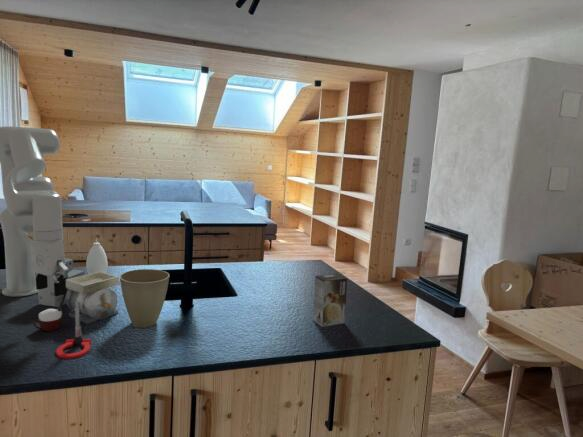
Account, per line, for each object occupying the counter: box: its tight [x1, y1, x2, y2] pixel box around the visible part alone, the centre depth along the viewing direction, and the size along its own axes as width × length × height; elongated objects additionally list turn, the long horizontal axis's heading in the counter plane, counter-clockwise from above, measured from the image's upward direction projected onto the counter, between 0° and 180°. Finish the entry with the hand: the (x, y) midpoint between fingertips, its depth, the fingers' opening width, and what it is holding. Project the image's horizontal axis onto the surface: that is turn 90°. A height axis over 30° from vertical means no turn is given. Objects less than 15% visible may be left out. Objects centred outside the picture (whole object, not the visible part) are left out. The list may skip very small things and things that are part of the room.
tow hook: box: [55, 301, 93, 360], centre depth 119 cm, size 8×13×9 cm
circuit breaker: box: [37, 257, 86, 308], centre depth 153 cm, size 8×14×15 cm, turn 78°
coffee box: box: [312, 273, 348, 328], centre depth 148 cm, size 9×6×16 cm
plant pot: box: [119, 268, 170, 329], centre depth 139 cm, size 15×15×16 cm
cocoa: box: [32, 287, 68, 332], centre depth 132 cm, size 10×6×12 cm, turn 108°
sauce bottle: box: [85, 236, 109, 274], centre depth 179 cm, size 8×8×18 cm
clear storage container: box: [65, 271, 121, 325], centre depth 144 cm, size 16×13×13 cm
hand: (51, 291), depth 131 cm, fingers open, 9 cm apart
